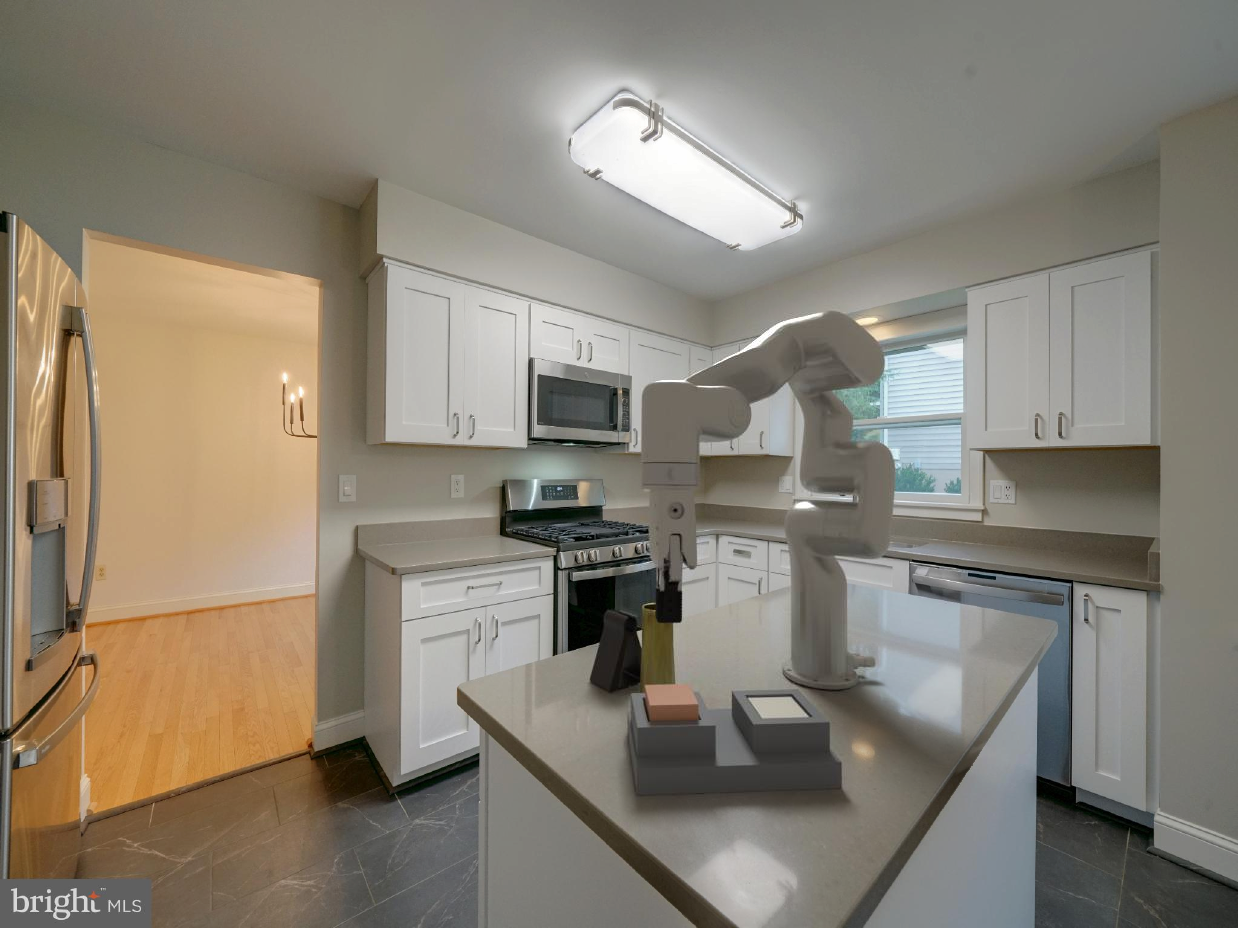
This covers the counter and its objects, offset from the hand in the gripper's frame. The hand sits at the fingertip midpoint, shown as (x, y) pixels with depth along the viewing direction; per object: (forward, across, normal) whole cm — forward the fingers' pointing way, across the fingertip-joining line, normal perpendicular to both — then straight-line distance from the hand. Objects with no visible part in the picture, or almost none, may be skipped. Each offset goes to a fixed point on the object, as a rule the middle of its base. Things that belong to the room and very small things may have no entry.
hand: (668, 620), depth 65 cm
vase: (+18, +20, -2) cm, 27 cm away
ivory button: (+14, 0, -14) cm, 20 cm away
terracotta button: (+12, 0, 0) cm, 12 cm away
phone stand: (+18, +25, +4) cm, 31 cm away
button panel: (+18, 0, -8) cm, 19 cm away
